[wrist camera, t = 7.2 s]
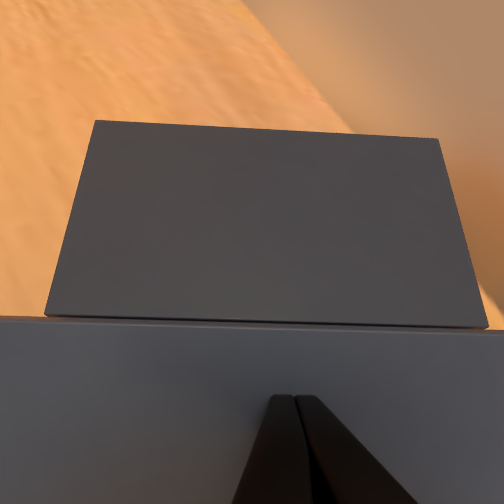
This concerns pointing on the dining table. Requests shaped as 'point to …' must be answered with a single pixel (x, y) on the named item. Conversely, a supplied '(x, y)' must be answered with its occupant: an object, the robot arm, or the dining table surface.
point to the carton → (264, 230)
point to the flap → (238, 405)
